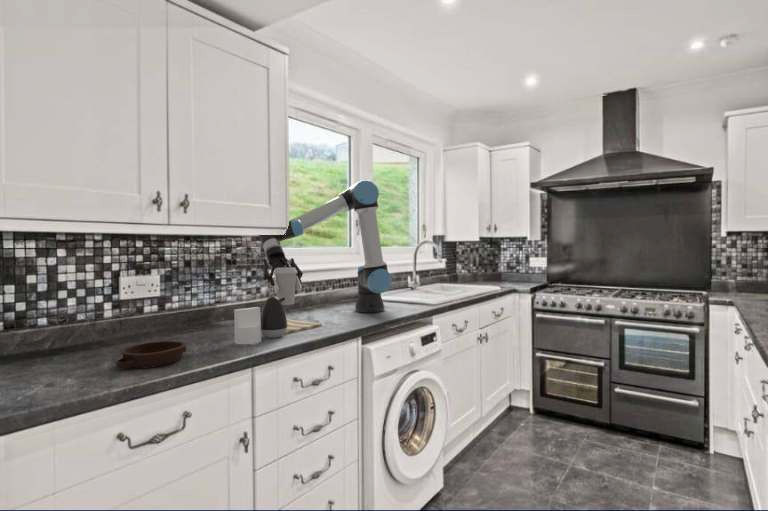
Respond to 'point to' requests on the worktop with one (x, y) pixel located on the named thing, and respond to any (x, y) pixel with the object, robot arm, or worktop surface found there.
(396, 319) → the worktop surface
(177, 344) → the dish
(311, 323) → the birch board
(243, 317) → the grey square canister
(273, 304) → the dark egg shaped speaker
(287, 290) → the coffee cup
